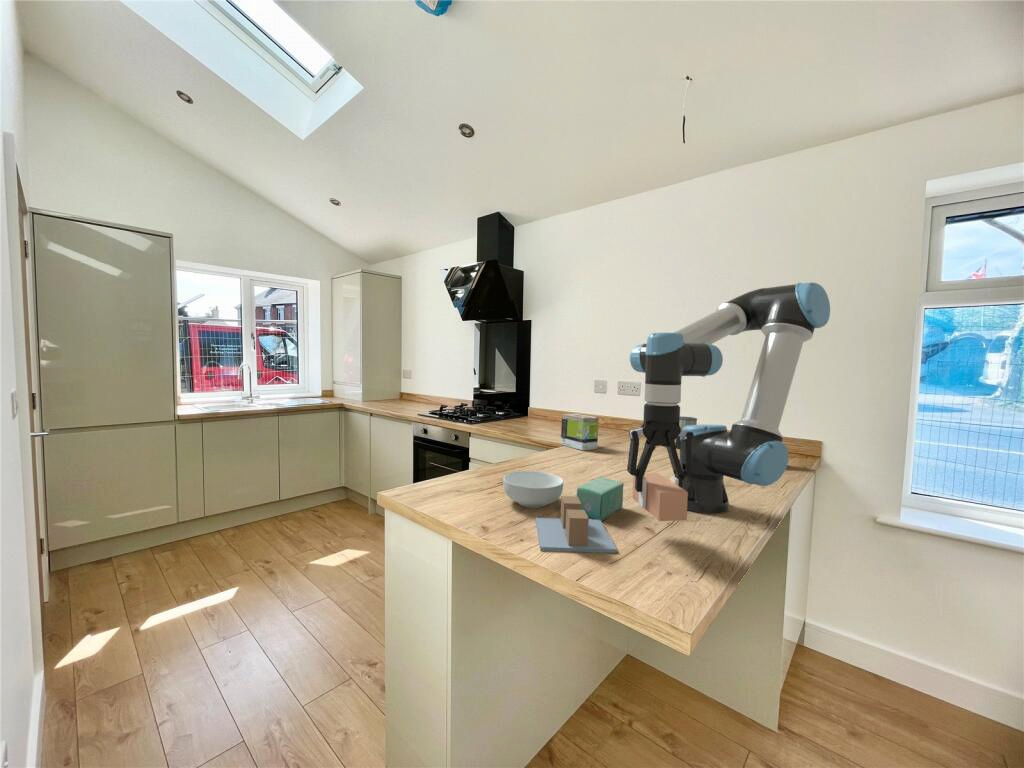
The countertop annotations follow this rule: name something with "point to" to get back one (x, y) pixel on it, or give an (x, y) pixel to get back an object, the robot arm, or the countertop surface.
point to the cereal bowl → (532, 488)
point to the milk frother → (684, 422)
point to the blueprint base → (559, 541)
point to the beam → (663, 498)
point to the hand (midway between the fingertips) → (657, 505)
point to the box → (601, 497)
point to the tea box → (579, 431)
